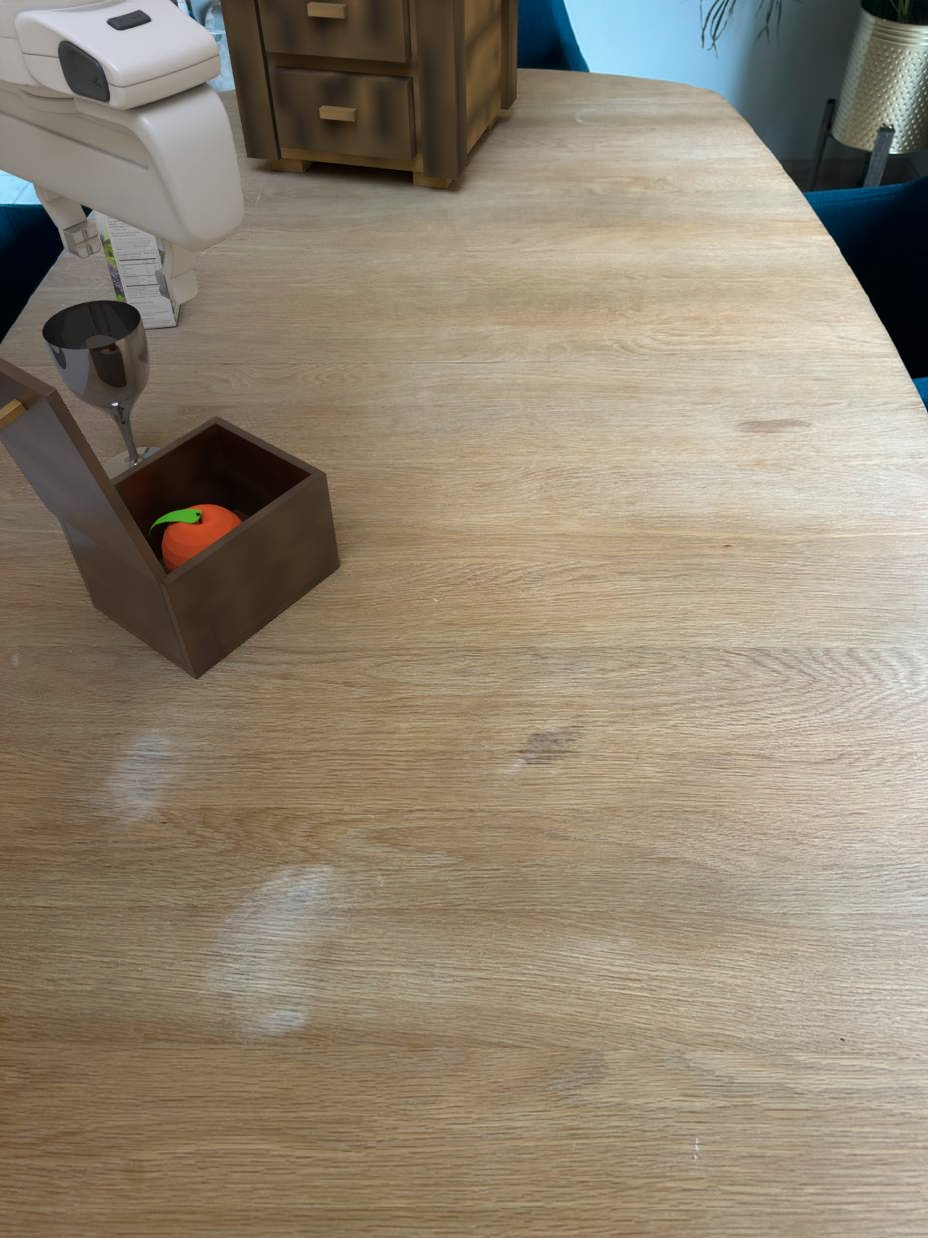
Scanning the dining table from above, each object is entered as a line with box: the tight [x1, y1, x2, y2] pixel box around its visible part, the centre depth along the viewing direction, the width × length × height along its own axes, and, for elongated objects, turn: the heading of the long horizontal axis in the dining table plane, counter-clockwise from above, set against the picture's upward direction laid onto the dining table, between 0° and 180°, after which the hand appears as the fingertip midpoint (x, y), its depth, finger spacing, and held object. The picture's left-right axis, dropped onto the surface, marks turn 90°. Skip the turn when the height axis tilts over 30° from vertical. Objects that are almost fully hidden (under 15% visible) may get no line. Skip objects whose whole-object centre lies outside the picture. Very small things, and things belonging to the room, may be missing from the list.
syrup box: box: [92, 209, 181, 330], centre depth 107 cm, size 6×6×14 cm
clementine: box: [149, 504, 242, 573], centre depth 79 cm, size 8×7×7 cm
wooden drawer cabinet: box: [219, 0, 519, 189], centre depth 134 cm, size 35×35×33 cm
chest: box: [56, 415, 341, 680], centre depth 78 cm, size 16×13×10 cm
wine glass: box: [41, 299, 161, 480], centre depth 87 cm, size 8×8×15 cm
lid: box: [0, 356, 167, 584], centre depth 63 cm, size 17×13×5 cm
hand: (131, 274), depth 62 cm, fingers open, 8 cm apart
